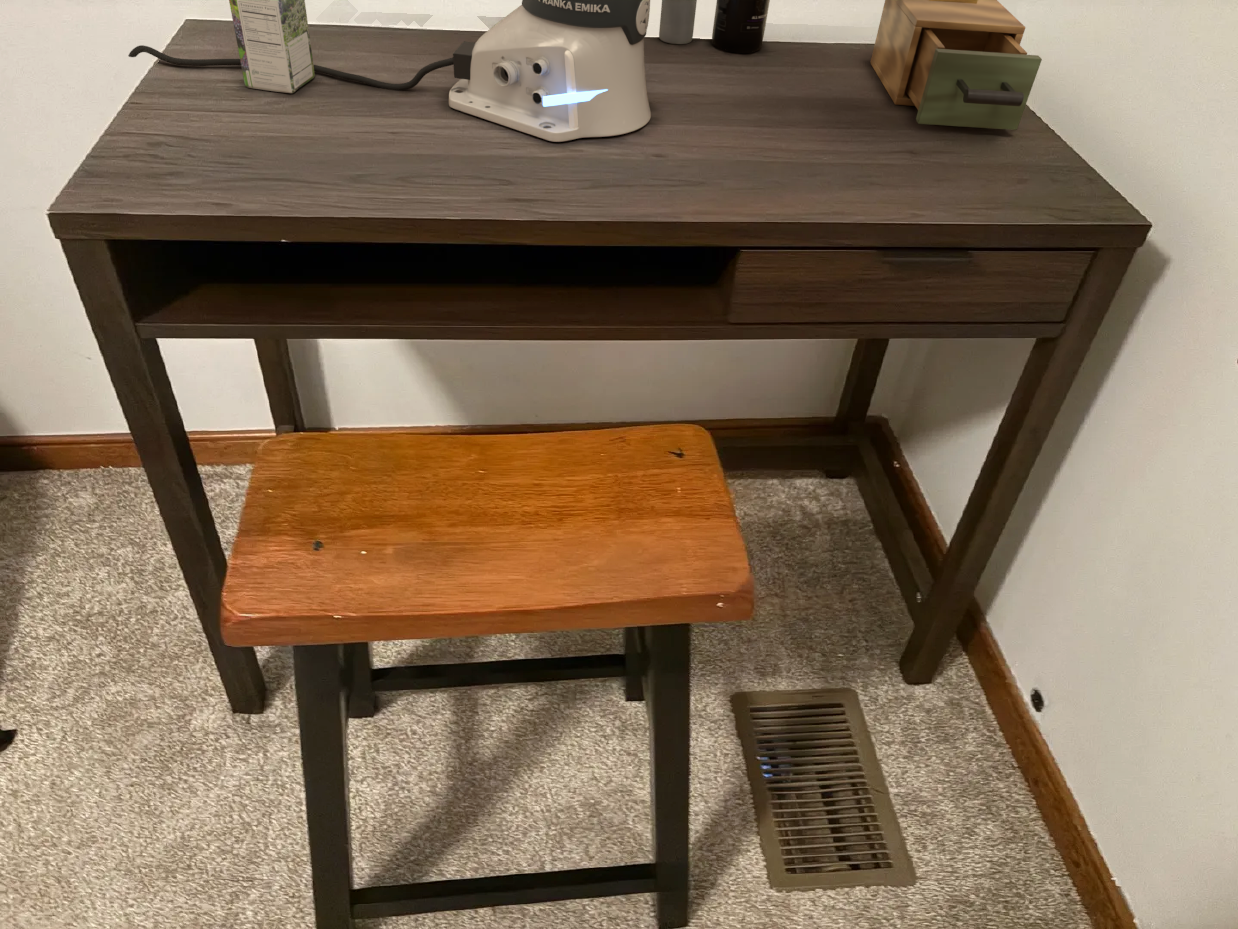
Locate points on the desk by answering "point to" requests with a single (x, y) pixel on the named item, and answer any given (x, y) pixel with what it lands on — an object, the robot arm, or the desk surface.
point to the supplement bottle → (740, 25)
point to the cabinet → (914, 11)
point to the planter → (677, 21)
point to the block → (959, 0)
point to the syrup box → (273, 43)
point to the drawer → (970, 79)
